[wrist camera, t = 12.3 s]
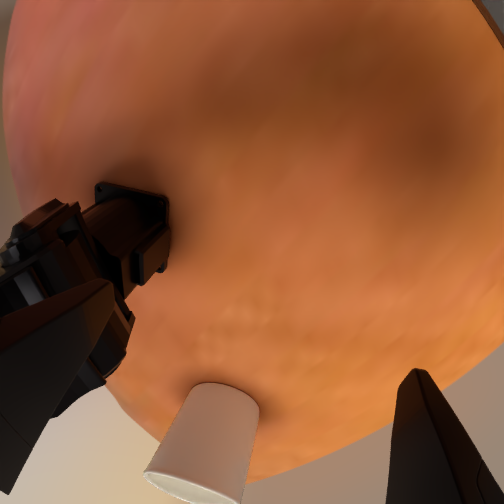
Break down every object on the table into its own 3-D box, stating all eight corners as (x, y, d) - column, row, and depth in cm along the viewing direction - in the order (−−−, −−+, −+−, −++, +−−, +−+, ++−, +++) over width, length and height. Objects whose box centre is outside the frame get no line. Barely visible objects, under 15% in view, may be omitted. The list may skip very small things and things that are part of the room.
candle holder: (173, 371, 32) (126, 461, 22) (260, 382, 30) (227, 491, 19) (197, 418, 37) (164, 495, 27) (271, 429, 34) (247, 516, 24)
